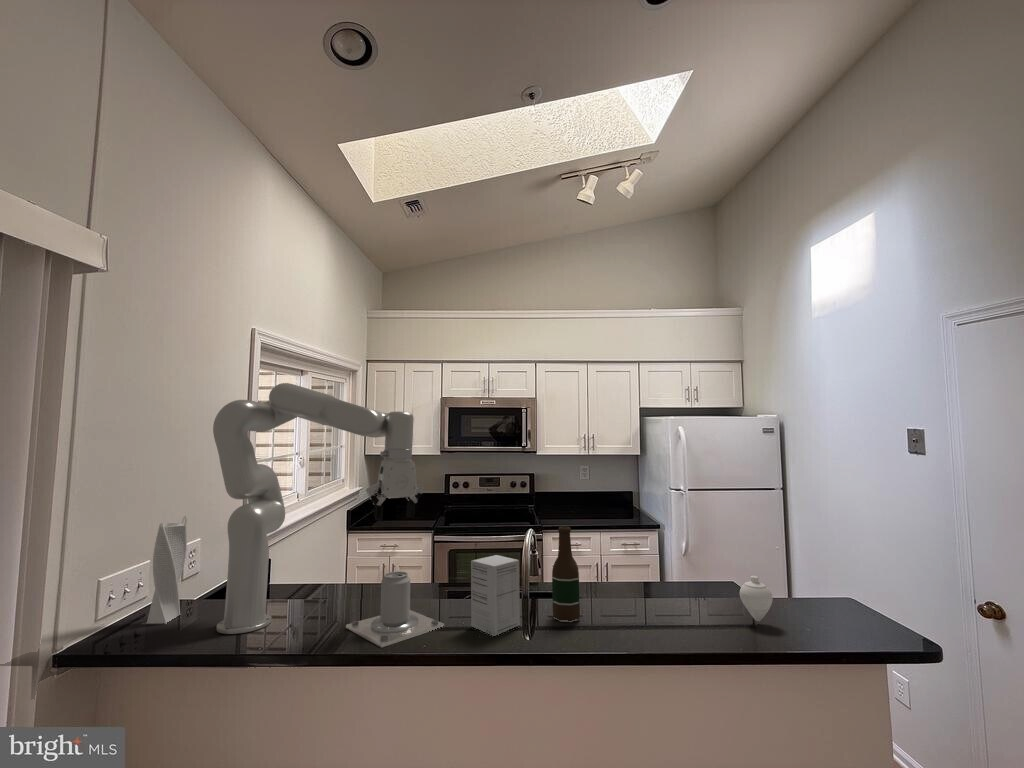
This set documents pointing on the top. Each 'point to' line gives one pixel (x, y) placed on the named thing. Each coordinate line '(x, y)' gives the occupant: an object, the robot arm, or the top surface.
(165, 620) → the skyscraper
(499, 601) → the supplement box
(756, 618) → the spinning top
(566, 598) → the beer bottle
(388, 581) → the can
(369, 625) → the flange
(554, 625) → the top surface
